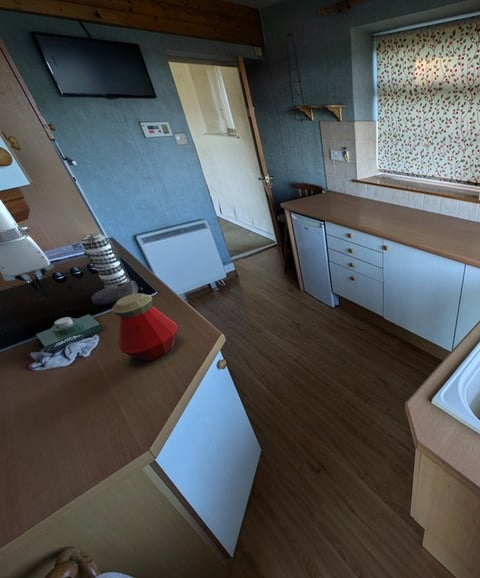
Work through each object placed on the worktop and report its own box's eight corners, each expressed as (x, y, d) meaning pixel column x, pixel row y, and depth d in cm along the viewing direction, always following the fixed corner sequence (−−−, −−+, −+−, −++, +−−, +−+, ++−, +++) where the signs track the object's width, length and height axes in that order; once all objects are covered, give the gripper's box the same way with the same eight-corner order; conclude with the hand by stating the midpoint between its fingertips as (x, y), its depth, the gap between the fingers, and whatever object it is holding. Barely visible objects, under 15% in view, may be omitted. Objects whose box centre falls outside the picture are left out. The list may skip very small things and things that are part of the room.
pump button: (59, 330, 97) (56, 325, 96) (56, 326, 99) (52, 321, 98) (75, 324, 100) (72, 319, 99) (71, 320, 102) (68, 315, 101)
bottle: (169, 330, 103) (145, 281, 93) (193, 341, 98) (171, 290, 88) (118, 359, 91) (84, 306, 81) (143, 373, 86) (110, 318, 76)
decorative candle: (117, 296, 123) (86, 240, 111) (101, 293, 126) (69, 238, 113) (138, 286, 131) (111, 232, 118) (123, 283, 133) (95, 230, 120)
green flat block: (49, 352, 94) (40, 341, 92) (40, 339, 99) (32, 329, 97) (103, 329, 104) (96, 319, 102) (92, 319, 109) (86, 309, 107)
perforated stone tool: (95, 309, 115) (86, 294, 111) (96, 304, 118) (87, 289, 115) (141, 297, 123) (134, 282, 119) (141, 292, 126) (134, 278, 123)
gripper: (36, 226, 90) (70, 278, 100) (-40, 241, 80) (5, 297, 89) (43, 230, 87) (77, 283, 96) (-37, 247, 76) (11, 305, 86)
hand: (42, 290), depth 93 cm, fingers closed
